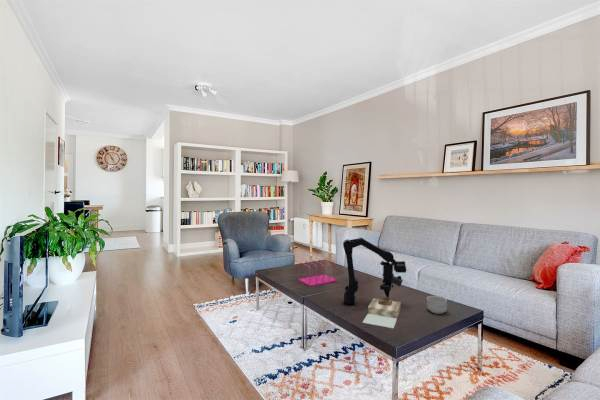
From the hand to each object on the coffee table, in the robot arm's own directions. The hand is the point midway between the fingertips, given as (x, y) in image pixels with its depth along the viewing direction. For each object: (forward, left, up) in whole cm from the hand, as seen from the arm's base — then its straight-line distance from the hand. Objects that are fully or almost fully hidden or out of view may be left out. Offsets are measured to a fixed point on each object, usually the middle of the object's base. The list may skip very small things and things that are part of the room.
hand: (387, 297), depth 188 cm
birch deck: (0, -10, -5) cm, 11 cm away
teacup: (+28, +3, -5) cm, 29 cm away
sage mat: (0, -25, -5) cm, 25 cm away
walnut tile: (0, -8, -1) cm, 8 cm away
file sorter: (-57, +27, -5) cm, 64 cm away
